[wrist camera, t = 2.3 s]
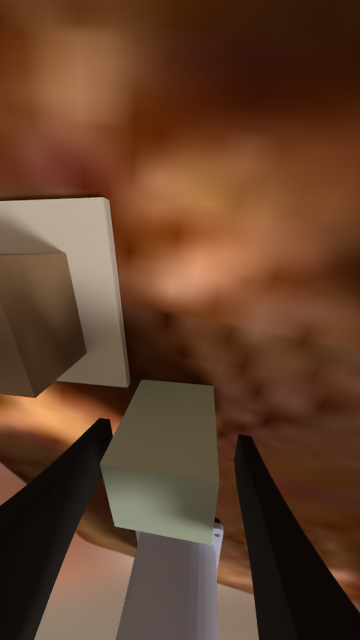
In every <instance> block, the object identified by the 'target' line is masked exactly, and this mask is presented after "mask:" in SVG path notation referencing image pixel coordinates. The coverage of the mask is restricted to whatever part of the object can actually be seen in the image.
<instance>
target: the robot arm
mask: <svg viewBox="0 0 360 640" xmlns="http://www.w3.org/2000/svg"><path fill="white" fill-rule="evenodd" d="M112 438H113V434H112V429H111V424H110V419H104V418H99V419H98V420H97V421H96V422H95V423H94V424H93V425H92V426H91V427H90V428H89V429H88V430H87V431H86V432H85V433H84V434H83V435H82V436H81V437H80V438H79V439H78V440H77V441H76V442H74V443H73V444H72V445H71V446H70V447H69V448H68V449H67V450H66V451H65V452H64V453H63V454H62V455H61V456H60V457H59V458H57V459H56V460H55V461H54V462H53V463H52V464H51V465H50V466H48V467H47V468H46V469H45V470H44V471H43V472H42V473H40V474H39V475H38V476H37V477H36V478H35V479H33V480H32V481H31V482H30V483H29V484H27V485H26V486H25V487H24V488H22V489H21V490H20V491H19V492H18V493H16V494H15V495H14V496H13V497H11V498H10V499H9V500H7V501H6V502H5V503H3V504H2V505H1V506H0V640H34V638H35V635H36V632H37V630H38V627H39V624H40V622H41V619H42V616H43V613H44V611H45V608H46V605H47V602H48V600H49V597H50V594H51V592H52V589H53V586H54V584H55V581H56V579H57V576H58V573H59V571H60V568H61V565H62V563H63V560H64V558H65V555H66V553H67V550H68V548H69V545H70V543H71V540H72V538H73V536H74V533H75V531H76V528H77V526H78V524H79V522H80V519H81V517H82V515H83V513H84V511H85V509H86V507H87V505H88V503H89V501H90V499H91V496H92V494H93V492H94V490H95V488H96V486H97V484H98V482H99V480H100V478H101V476H102V471H101V467H100V462H101V460H102V458H103V456H104V454H105V452H106V450H107V448H108V446H109V444H110V442H111V440H112ZM234 463H235V474H236V484H237V490H238V496H239V501H240V507H241V513H242V518H243V524H244V529H245V535H246V540H247V546H248V552H249V559H250V565H251V573H252V582H253V590H254V599H255V607H256V617H257V626H258V635H259V640H360V613H359V611H358V610H357V608H356V607H355V606H354V604H353V603H352V602H351V600H350V599H349V597H348V596H347V595H346V593H345V592H344V591H343V589H342V588H341V586H340V585H339V584H338V582H337V581H336V579H335V578H334V576H333V575H332V573H331V572H330V571H329V569H328V568H327V566H326V565H325V563H324V562H323V560H322V559H321V557H320V556H319V554H318V553H317V551H316V550H315V548H314V547H313V545H312V544H311V542H310V541H309V539H308V538H307V536H306V535H305V533H304V531H303V530H302V528H301V527H300V525H299V523H298V522H297V520H296V519H295V517H294V515H293V514H292V512H291V510H290V509H289V507H288V505H287V504H286V502H285V500H284V498H283V497H282V495H281V493H280V491H279V490H278V488H277V486H276V484H275V482H274V481H273V479H272V477H271V475H270V473H269V471H268V470H267V468H266V466H265V464H264V462H263V460H262V458H261V456H260V454H259V452H258V449H257V447H256V445H255V443H254V441H253V438H252V437H251V436H246V435H238V440H237V447H236V453H235V459H234ZM135 531H136V530H135ZM136 537H137V543H138V546H137V550H136V554H135V559H134V563H133V567H132V572H131V576H130V580H129V585H128V589H127V593H126V598H125V602H124V606H123V610H122V615H121V620H120V623H119V628H118V632H117V636H116V640H219V634H218V633H219V632H218V603H217V569H218V562H219V556H220V550H221V544H222V538H223V526H222V525H221V524H219V523H215V522H214V528H213V536H212V544H211V545H208V544H203V543H198V542H192V541H187V540H182V539H177V538H172V537H167V536H162V535H157V534H151V533H146V532H141V531H136Z"/></svg>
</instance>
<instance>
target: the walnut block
mask: <svg viewBox="0 0 360 640" xmlns="http://www.w3.org/2000/svg"><path fill="white" fill-rule="evenodd" d="M86 354H87V351H86V346H85V342H84V337H83V332H82V327H81V322H80V318H79V313H78V308H77V303H76V298H75V293H74V289H73V284H72V279H71V274H70V269H69V265H68V260H67V255H66V254H0V394H5V395H14V396H23V397H32V398H36V397H37V396H38V395H39V394H40V393H42V392H43V391H44V390H45V389H46V388H47V387H49V386H50V385H51V384H52V383H53V382H54V381H55V380H57V379H58V378H59V377H60V376H61V375H62V374H64V373H65V372H66V371H67V370H68V369H69V368H71V367H72V366H73V365H74V364H75V363H76V362H78V361H79V360H80V359H81V358H82V357H83V356H84V355H86Z"/></svg>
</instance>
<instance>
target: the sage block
mask: <svg viewBox="0 0 360 640" xmlns="http://www.w3.org/2000/svg"><path fill="white" fill-rule="evenodd" d="M100 467H101V471H102V475H103V479H104V484H105V488H106V492H107V496H108V500H109V504H110V509H111V513H112V517H113V521H114V525H115V526H116V527H121V528H126V529H131V530H136V531H141V532H146V533H151V534H157V535H162V536H167V537H172V538H177V539H182V540H187V541H192V542H198V543H203V544H208V545H211V544H212V536H213V528H214V520H215V512H216V504H217V496H218V488H219V471H218V454H217V436H216V419H215V402H214V386H209V385H198V384H187V383H176V382H164V381H153V380H141V382H140V384H139V386H138V388H137V390H136V392H135V394H134V396H133V398H132V400H131V402H130V404H129V406H128V408H127V410H126V412H125V414H124V416H123V418H122V420H121V422H120V424H119V426H118V428H117V430H116V432H115V434H114V436H113V438H112V440H111V442H110V444H109V446H108V448H107V450H106V452H105V454H104V456H103V458H102V460H101V462H100Z"/></svg>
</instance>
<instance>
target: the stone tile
mask: <svg viewBox="0 0 360 640" xmlns="http://www.w3.org/2000/svg"><path fill="white" fill-rule="evenodd" d="M0 254H66V255H67V260H68V265H69V269H70V274H71V279H72V284H73V289H74V293H75V298H76V303H77V308H78V313H79V318H80V322H81V327H82V332H83V337H84V342H85V346H86V351H87V354H86V355H84V356H83V357H82V358H81V359H80V360H79V361H78V362H76V363H75V364H74V365H73V366H72V367H71V368H69V369H68V370H67V371H66V372H65V373H64V374H62V375H61V376H60V377H59V378H58V379H57V380H55V381H64V382H74V383H85V384H95V385H106V386H116V387H126V388H127V387H128V386H129V384H130V374H129V365H128V357H127V348H126V340H125V331H124V323H123V314H122V306H121V297H120V289H119V280H118V272H117V263H116V255H115V246H114V238H113V229H112V221H111V213H110V204H109V200H107V199H105V198H104V197H99V198H73V199H47V200H20V201H0Z"/></svg>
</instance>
